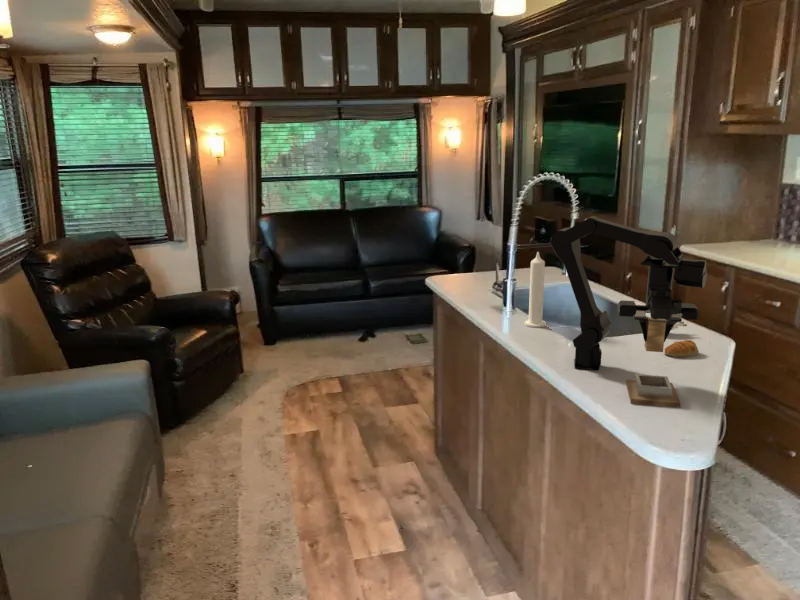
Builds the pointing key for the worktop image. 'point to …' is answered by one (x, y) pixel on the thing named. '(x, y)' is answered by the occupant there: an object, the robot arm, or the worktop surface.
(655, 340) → the rail post
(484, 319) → the worktop surface
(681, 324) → the power adapter
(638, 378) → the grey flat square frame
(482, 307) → the worktop surface
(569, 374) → the worktop surface
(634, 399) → the plate
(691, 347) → the pastry
